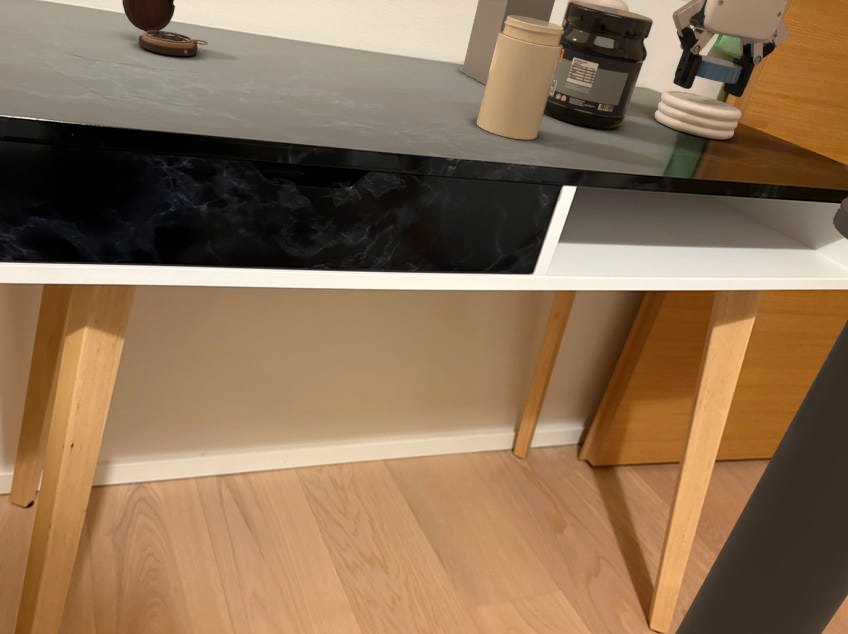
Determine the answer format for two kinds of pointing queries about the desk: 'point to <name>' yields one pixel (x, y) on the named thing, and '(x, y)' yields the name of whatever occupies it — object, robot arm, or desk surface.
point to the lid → (718, 70)
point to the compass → (158, 27)
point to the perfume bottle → (496, 30)
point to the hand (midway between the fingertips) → (707, 89)
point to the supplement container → (597, 65)
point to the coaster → (697, 115)
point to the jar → (520, 77)
